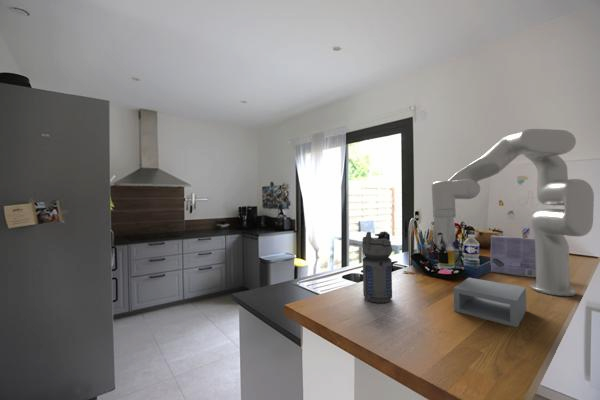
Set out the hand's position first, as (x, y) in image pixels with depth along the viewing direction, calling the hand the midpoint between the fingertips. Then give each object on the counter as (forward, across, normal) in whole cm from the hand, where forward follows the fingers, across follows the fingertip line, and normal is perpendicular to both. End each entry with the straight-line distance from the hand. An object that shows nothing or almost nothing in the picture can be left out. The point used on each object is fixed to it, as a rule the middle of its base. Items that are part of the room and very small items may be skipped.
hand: (446, 261), depth 100 cm
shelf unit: (+13, +6, +14) cm, 20 cm away
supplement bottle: (+2, 0, 0) cm, 2 cm away
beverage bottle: (+12, +21, -17) cm, 29 cm away
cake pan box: (+15, -51, +12) cm, 55 cm away
